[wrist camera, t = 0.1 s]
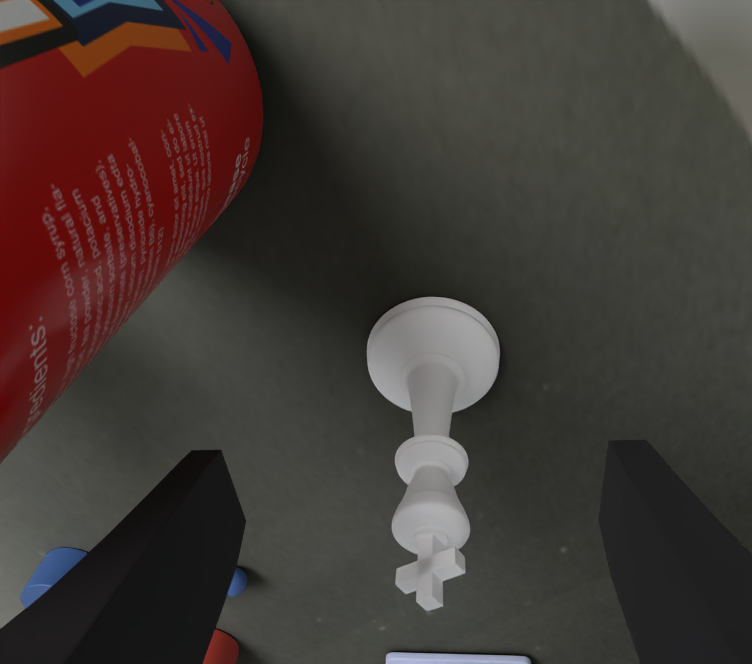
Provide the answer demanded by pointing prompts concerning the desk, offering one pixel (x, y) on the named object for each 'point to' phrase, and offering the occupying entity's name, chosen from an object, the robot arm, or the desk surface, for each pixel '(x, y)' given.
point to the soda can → (107, 172)
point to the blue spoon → (67, 558)
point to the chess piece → (432, 426)
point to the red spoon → (221, 649)
